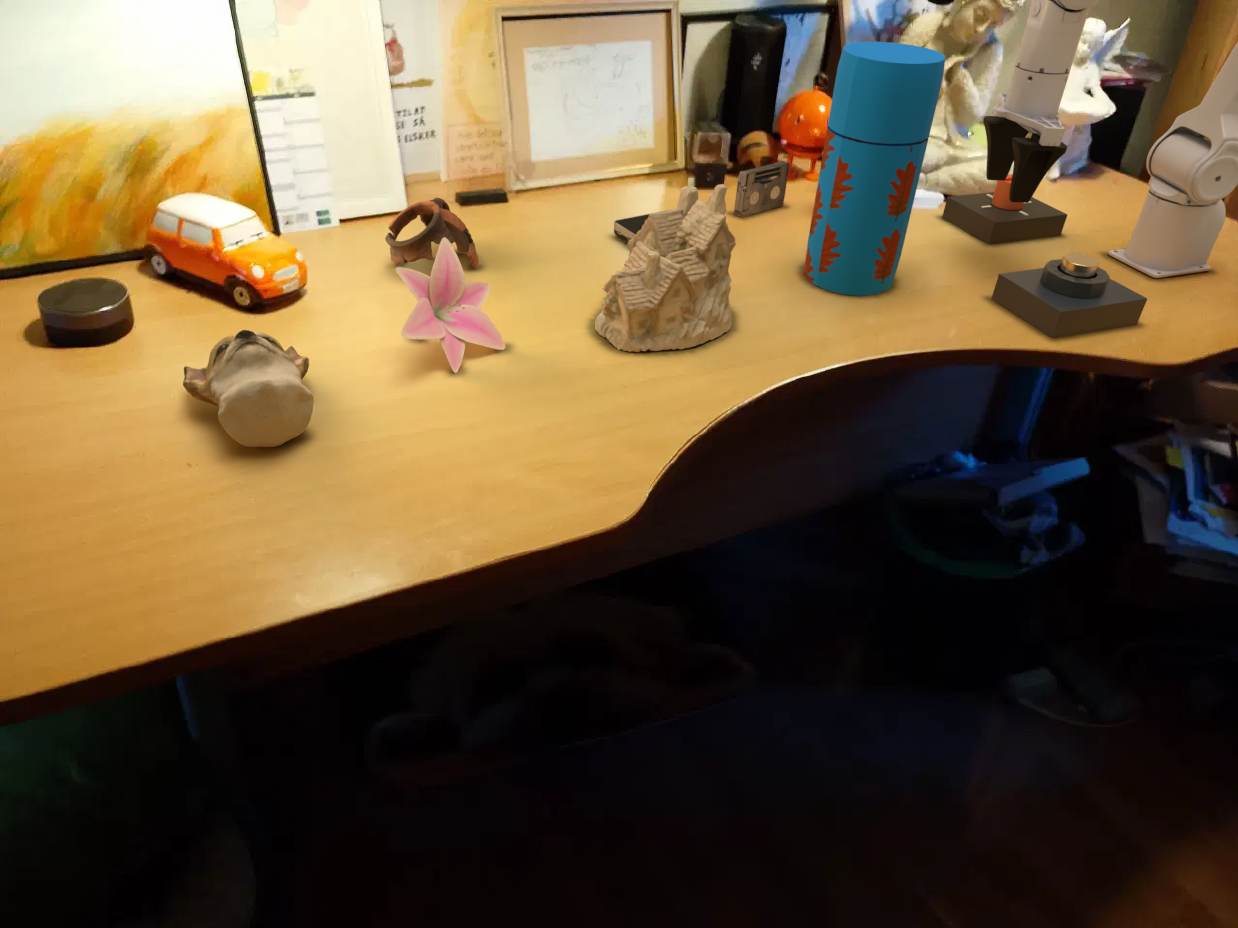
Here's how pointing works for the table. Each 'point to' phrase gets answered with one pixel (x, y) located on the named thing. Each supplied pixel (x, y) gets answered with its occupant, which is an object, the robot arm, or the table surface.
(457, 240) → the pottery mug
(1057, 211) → the dark grey dial base
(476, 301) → the lily
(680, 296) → the ceramic cottage
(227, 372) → the ceramic sculpture
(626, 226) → the external hard drive
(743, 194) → the mini dv tape
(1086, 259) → the metal button cap
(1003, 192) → the dial
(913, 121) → the thermos
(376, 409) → the table surface
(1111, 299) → the square base push button
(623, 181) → the table surface
